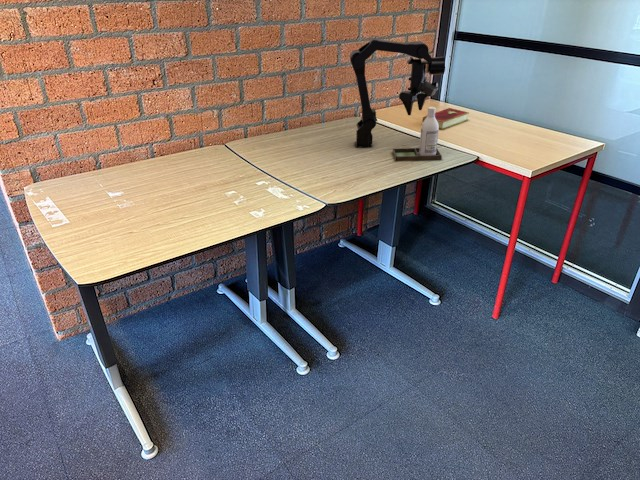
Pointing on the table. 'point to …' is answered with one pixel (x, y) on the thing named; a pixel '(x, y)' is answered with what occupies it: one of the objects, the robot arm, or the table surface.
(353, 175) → the table surface
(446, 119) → the hardcover book
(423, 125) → the bath foam
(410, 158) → the tray
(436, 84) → the robot arm
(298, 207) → the table surface
